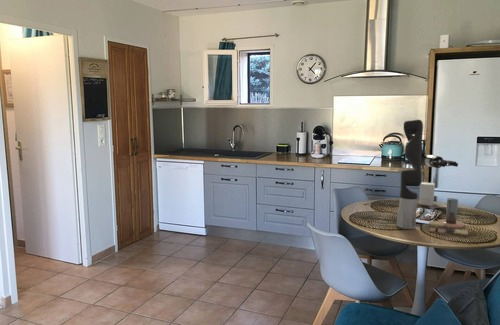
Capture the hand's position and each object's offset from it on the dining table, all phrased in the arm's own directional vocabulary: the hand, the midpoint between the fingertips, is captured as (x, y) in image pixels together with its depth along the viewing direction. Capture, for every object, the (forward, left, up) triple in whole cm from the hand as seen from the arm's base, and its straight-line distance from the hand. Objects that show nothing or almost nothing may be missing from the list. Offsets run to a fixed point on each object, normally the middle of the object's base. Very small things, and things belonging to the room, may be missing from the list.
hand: (451, 165), depth 246 cm
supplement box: (+13, +39, -34) cm, 53 cm away
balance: (-18, -24, -34) cm, 45 cm away
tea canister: (-5, -10, -33) cm, 35 cm away
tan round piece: (-5, -10, -34) cm, 36 cm away
